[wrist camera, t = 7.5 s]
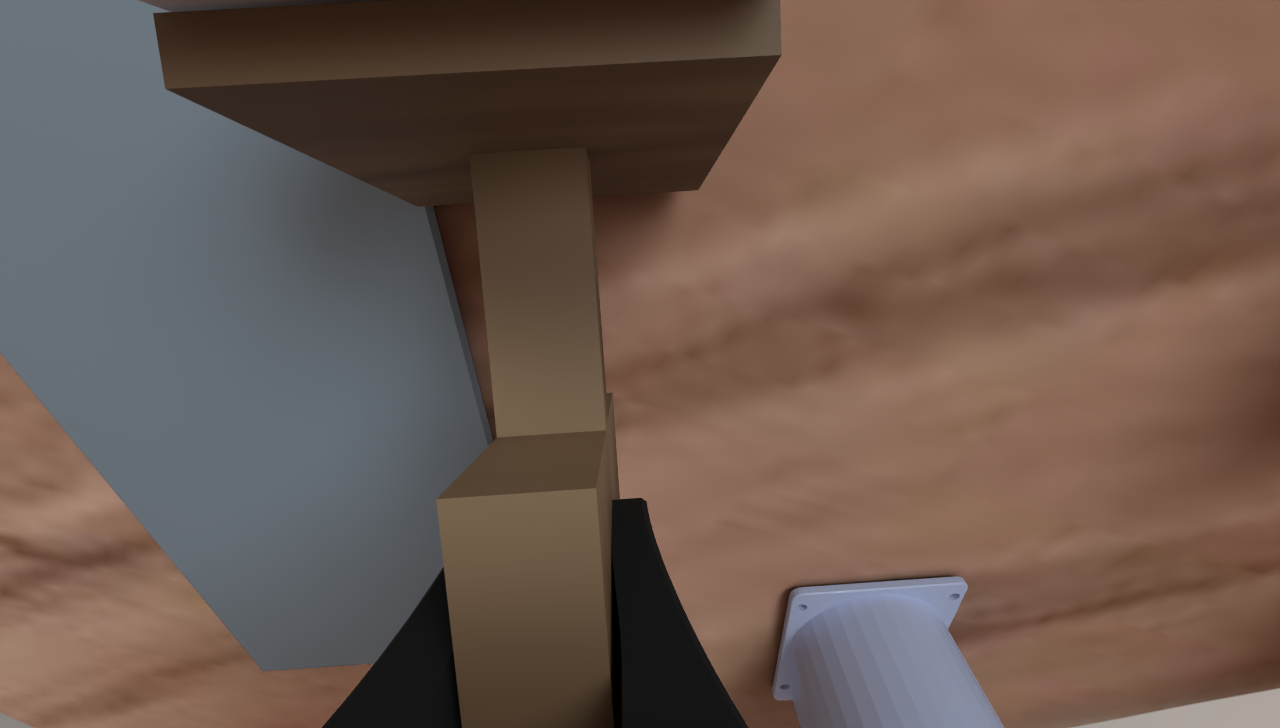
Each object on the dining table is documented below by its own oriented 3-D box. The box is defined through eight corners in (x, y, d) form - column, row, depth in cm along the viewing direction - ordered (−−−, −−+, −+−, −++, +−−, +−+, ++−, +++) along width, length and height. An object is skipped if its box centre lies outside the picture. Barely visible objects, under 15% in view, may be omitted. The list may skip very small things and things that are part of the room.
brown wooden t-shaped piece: (718, 601, 14) (805, 888, 7) (462, 620, 14) (301, 929, 7) (696, 156, 13) (779, -22, 6) (413, 173, 13) (152, 12, 6)
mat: (543, 638, 25) (542, 651, 24) (270, 658, 24) (262, 671, 24) (366, -57, 11) (353, -61, 10) (-270, -26, 11) (-315, -29, 10)
